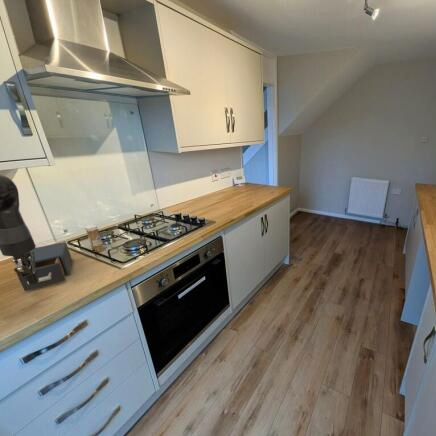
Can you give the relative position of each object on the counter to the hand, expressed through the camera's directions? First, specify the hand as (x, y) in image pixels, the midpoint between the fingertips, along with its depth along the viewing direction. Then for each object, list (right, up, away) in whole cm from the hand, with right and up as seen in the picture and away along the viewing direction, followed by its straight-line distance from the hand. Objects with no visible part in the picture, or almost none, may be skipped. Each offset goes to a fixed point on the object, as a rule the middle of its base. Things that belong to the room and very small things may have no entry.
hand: (34, 282), depth 82 cm
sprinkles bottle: (-9, +6, +38) cm, 39 cm away
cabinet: (-14, -1, +20) cm, 24 cm away
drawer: (-9, -2, +13) cm, 16 cm away
